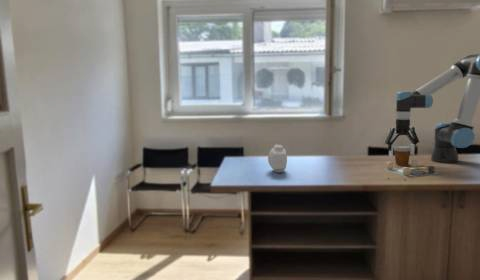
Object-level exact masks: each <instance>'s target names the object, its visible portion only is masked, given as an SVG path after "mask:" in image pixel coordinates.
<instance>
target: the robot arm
mask: <svg viewBox="0 0 480 280" xmlns="http://www.w3.org/2000/svg"><path fill="white" fill-rule="evenodd" d="M465 77H467V80H466V81H467V82H466V84H465V87H464V91H463V94H462V97H461V101H460V103H459V105H458V110H457V113H456V116H455V119H453V120H452V121H451V122H447V123H436V124H435V125H434V147H433V151H432V154H431V156H430V161H432V162H436V163H445V164H446V163H449V164H451V163H453V164H454V163H458V162H459V160H460V159H459V155H458V151H457V148H459V149H465V148H468V147H470V146H471V145H472V144H473V143H474V141H475V136H476V135H475V133H474V131H473V130H474V124H473V120H474V117H475V114H476V112H477V108H478V105H479V102H480V53H476V54H469V55H466V56H465V57H463V58H461V59H460V60H458V61H456V62H455V63H454V64H452V65H451V66H450V68H449V69H447V70H446V71H444V72H443V73H441V74H439V75H437V76H435V78H433V79H431V80H430V81H428V82H427V83H425V84H423V85H422V86H420V87H419V88H417V89H415V90H414V91H412V92H411V91H398V92H397V93H396V105H395V106H396V107H395V108H396V111H395V112H396V113H395V115H396V116H395V127H390V132H389V133H388V136H387V138H386V139H385V142H384V144H385V145H387V151H388V157H391V158H392V157H394V149H393V148H394V145H393V144H394V142H395V141H396V140H397V139H398V138H399V137H400V136H406V137H407V138H408V139H409V141H410V142H411V143H410V147H411V151H410V155H411V156H415V150H416V149H417V148H416V145H417V144H418V143H420V140H419V137H418V135H417V132H416V129H415V126H411V109H429V108H431V107H432V106H433V104H434V99H433V95H434V94H436V93H438V92H439V91H440V90H442V89H444V88H445V87H447V86H448V85H449V86H450V85H451V84H452V83H453V82H456V81H457V80H462V79H463V78H465Z"/></svg>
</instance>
